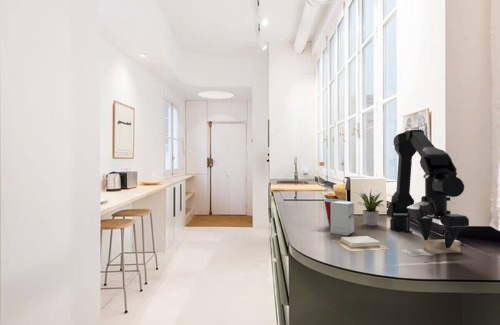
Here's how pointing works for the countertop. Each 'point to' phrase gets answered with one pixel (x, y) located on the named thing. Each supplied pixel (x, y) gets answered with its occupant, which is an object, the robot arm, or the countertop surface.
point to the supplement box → (342, 217)
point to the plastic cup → (328, 208)
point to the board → (360, 247)
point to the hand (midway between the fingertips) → (436, 243)
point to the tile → (360, 241)
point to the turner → (434, 248)
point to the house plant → (371, 209)
